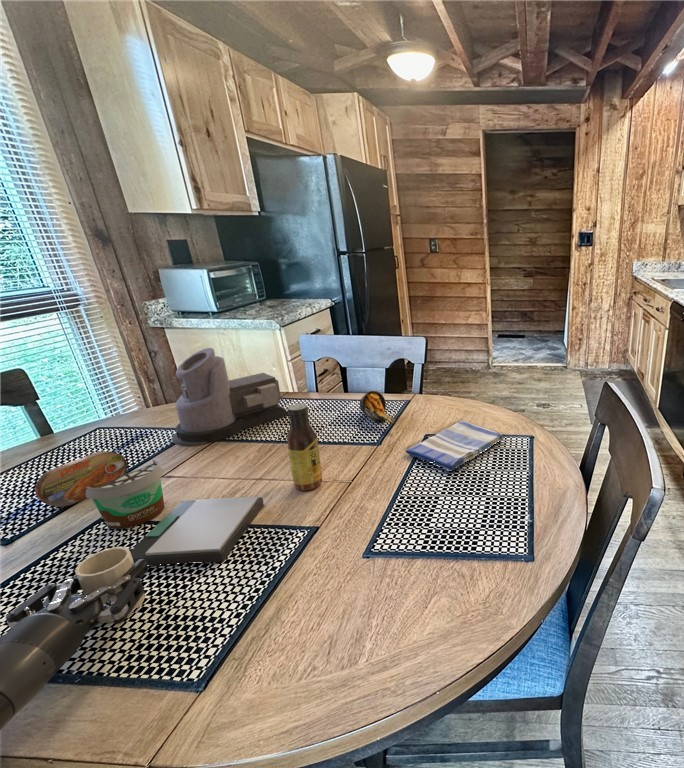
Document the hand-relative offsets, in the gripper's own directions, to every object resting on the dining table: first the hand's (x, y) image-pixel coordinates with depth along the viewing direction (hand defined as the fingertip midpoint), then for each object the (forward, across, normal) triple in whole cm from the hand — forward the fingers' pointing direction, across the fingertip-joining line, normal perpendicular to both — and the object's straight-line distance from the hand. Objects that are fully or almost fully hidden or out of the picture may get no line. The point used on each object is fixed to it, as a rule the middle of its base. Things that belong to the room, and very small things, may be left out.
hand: (120, 564), depth 66 cm
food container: (+21, +11, +6) cm, 24 cm away
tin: (+30, +28, +6) cm, 42 cm away
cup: (-2, 0, +6) cm, 6 cm away
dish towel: (+47, -53, +6) cm, 71 cm away
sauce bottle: (+31, -18, +6) cm, 36 cm away
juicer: (+66, +15, +6) cm, 68 cm away
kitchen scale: (+15, -3, +6) cm, 16 cm away
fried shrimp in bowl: (+67, -28, +6) cm, 73 cm away
